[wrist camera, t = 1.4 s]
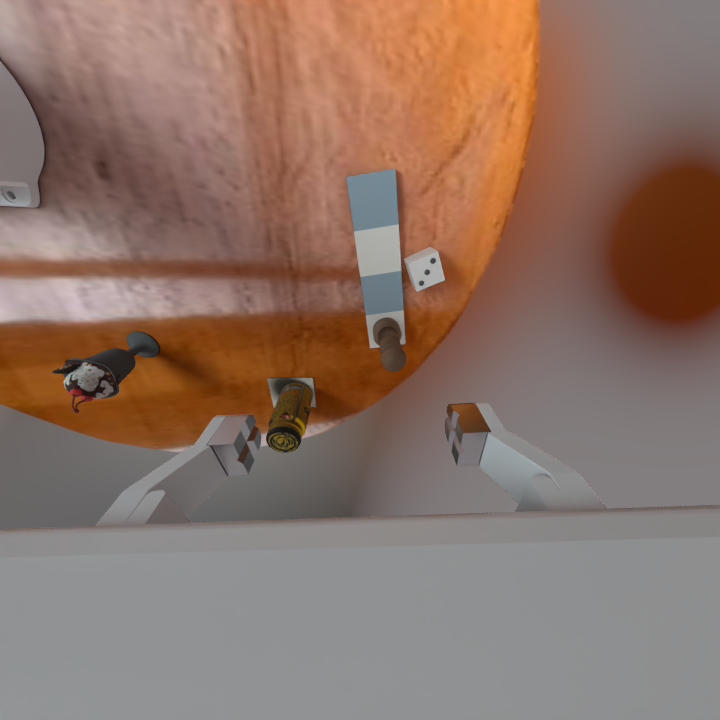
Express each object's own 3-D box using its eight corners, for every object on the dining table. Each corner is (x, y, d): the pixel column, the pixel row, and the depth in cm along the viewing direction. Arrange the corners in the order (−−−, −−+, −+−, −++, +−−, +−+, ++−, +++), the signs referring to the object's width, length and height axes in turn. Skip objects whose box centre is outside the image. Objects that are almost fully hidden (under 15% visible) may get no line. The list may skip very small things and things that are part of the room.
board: (369, 345, 44) (370, 348, 43) (346, 177, 32) (346, 177, 31) (404, 341, 44) (405, 343, 43) (394, 169, 32) (395, 168, 31)
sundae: (167, 364, 46) (94, 426, 33) (126, 357, 45) (35, 418, 32) (162, 331, 42) (78, 386, 30) (117, 323, 41) (11, 376, 29)
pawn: (374, 343, 43) (379, 381, 34) (371, 319, 41) (376, 352, 32) (400, 340, 43) (412, 377, 34) (398, 315, 40) (411, 348, 31)
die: (411, 283, 39) (417, 291, 36) (403, 258, 37) (408, 264, 34) (437, 273, 38) (445, 280, 35) (430, 246, 36) (438, 251, 33)
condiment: (316, 406, 51) (306, 457, 41) (274, 407, 51) (254, 457, 41) (313, 376, 48) (301, 424, 37) (267, 377, 48) (243, 425, 37)
